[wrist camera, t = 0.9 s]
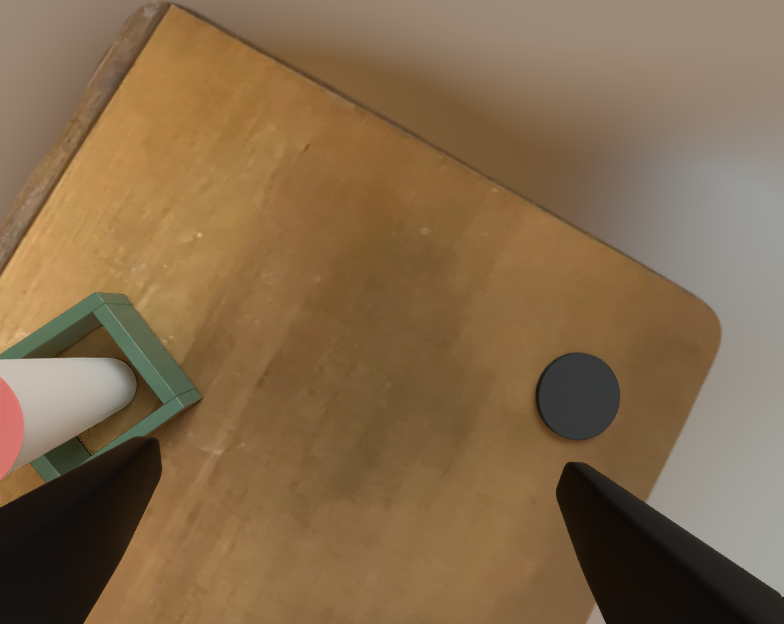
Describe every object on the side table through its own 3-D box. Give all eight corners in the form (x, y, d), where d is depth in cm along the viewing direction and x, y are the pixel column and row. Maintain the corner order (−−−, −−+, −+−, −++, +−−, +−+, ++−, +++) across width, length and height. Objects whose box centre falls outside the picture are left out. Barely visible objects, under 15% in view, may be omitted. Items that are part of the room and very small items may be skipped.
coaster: (567, 455, 25) (571, 457, 25) (519, 387, 25) (522, 388, 25) (631, 403, 26) (636, 404, 25) (585, 335, 26) (588, 336, 25)
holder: (90, 477, 22) (57, 498, 19) (6, 372, 22) (-39, 379, 19) (203, 397, 23) (184, 407, 20) (124, 294, 22) (95, 291, 20)
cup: (172, 387, 23) (-31, 467, 11) (102, 447, 22) (-194, 601, 10) (112, 323, 22) (-169, 330, 10) (39, 382, 22) (-344, 462, 10)
